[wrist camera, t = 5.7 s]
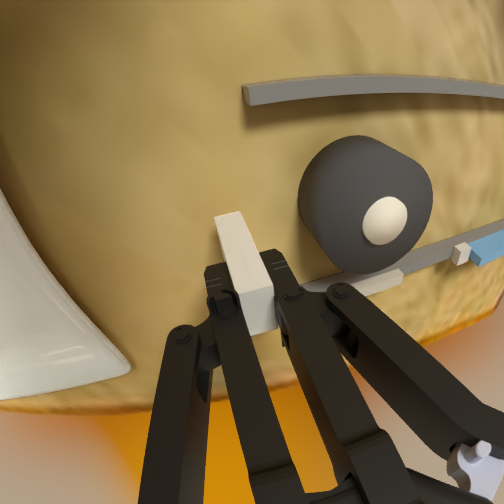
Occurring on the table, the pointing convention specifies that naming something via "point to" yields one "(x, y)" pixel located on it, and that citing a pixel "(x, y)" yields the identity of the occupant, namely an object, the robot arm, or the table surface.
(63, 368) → the square plate
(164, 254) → the table surface
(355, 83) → the gray u-shaped frame
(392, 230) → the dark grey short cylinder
